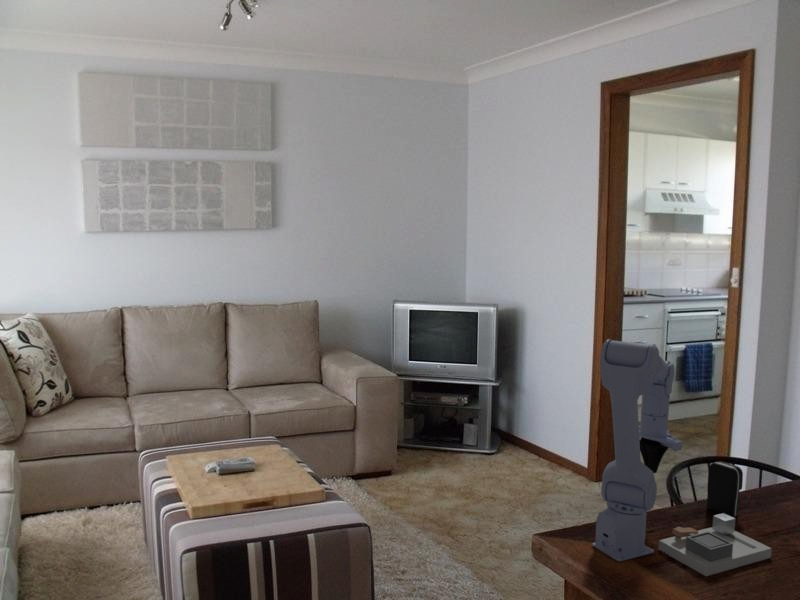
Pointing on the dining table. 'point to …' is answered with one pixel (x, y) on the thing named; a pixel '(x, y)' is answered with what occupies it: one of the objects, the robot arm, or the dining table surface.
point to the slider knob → (723, 524)
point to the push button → (709, 541)
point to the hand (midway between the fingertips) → (651, 472)
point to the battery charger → (724, 488)
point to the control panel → (715, 551)
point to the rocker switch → (684, 531)
